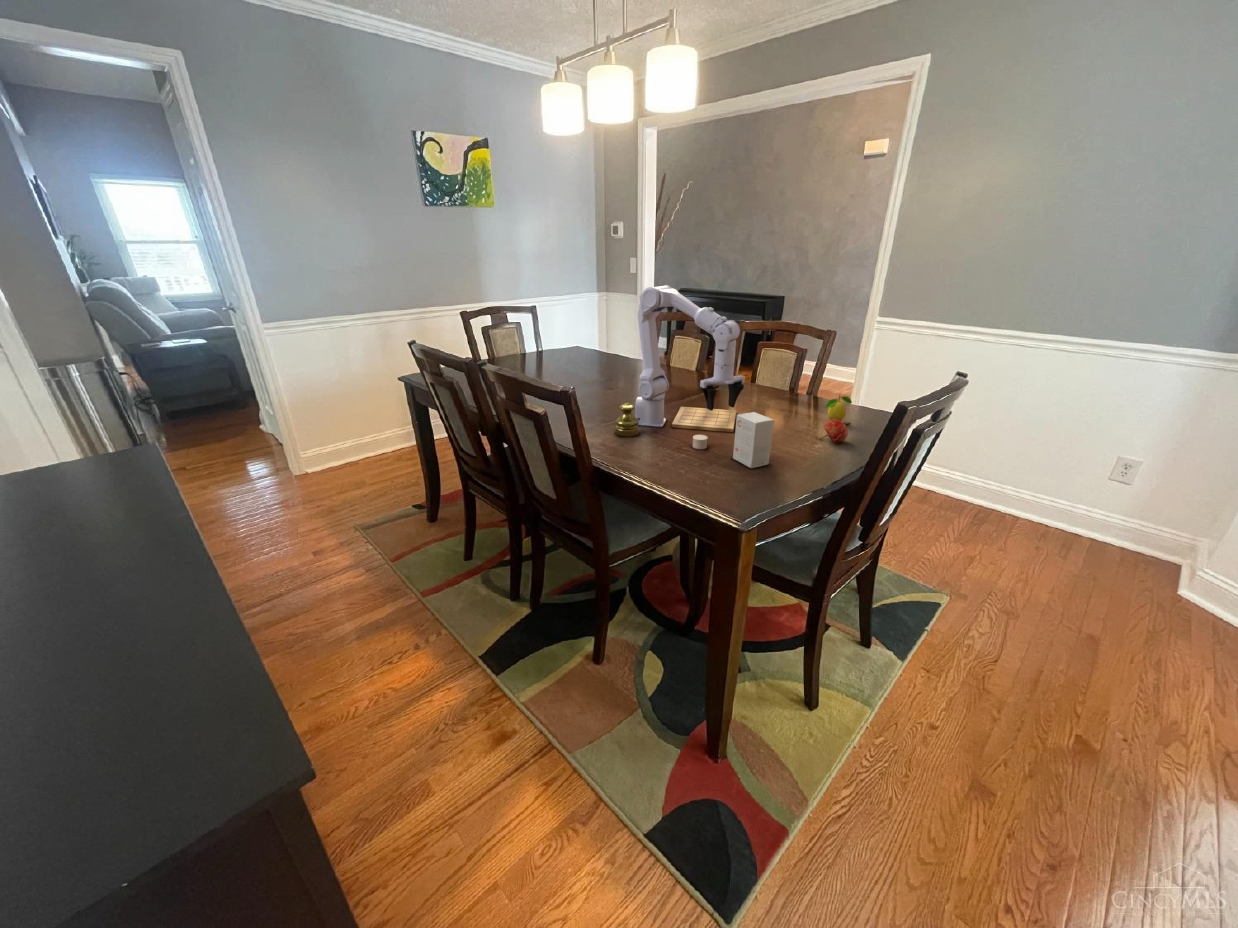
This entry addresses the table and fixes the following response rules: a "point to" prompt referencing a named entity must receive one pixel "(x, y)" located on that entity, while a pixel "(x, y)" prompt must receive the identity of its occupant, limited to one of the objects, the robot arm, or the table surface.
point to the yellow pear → (837, 408)
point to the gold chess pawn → (627, 421)
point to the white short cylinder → (700, 441)
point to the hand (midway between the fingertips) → (720, 408)
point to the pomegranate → (836, 430)
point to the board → (705, 419)
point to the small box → (753, 439)
